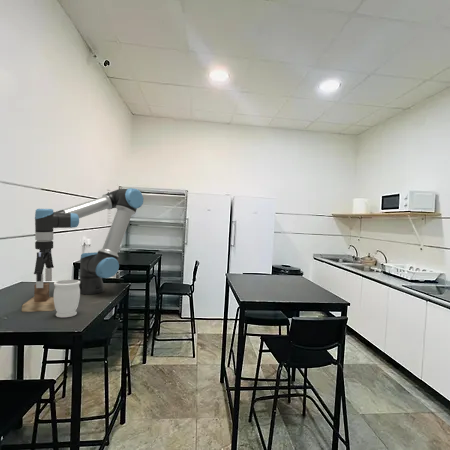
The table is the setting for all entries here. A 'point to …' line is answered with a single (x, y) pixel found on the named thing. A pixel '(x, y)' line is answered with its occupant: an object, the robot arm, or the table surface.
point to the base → (38, 305)
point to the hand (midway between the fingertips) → (44, 284)
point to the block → (41, 293)
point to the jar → (66, 297)
